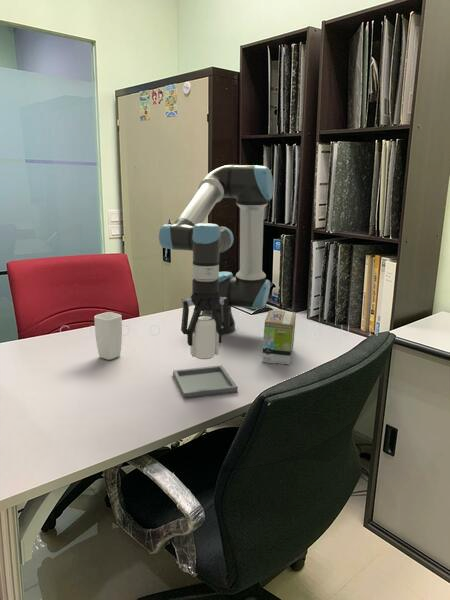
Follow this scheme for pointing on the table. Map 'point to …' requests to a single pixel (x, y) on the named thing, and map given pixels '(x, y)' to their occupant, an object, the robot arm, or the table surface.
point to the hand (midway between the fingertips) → (204, 354)
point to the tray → (204, 382)
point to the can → (205, 337)
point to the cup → (108, 334)
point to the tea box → (278, 337)
